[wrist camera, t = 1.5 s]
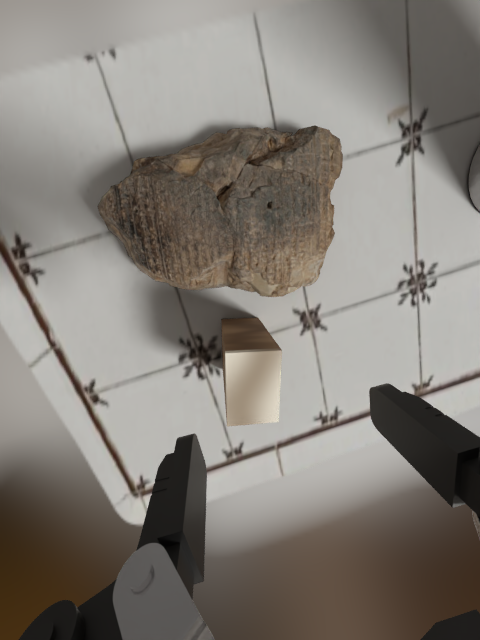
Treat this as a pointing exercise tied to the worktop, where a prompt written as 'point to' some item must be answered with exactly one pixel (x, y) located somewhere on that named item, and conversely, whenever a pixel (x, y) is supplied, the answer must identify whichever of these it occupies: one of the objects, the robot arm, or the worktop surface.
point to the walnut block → (250, 372)
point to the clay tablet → (231, 210)
